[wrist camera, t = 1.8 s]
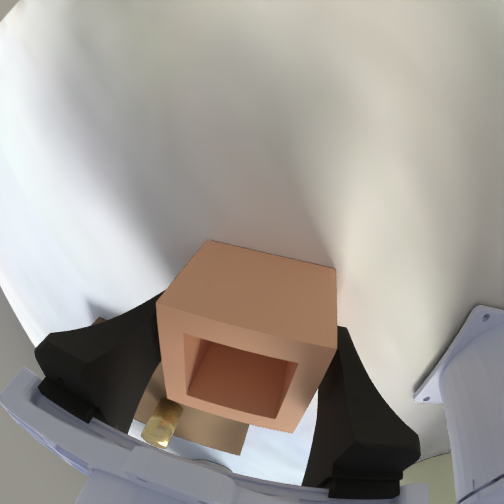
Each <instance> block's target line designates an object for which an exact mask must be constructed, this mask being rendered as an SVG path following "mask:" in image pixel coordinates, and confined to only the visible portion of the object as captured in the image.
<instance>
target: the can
mask: <svg viewBox="0 0 504 504" xmlns="http://www.w3.org/2000/svg"><path fill="white" fill-rule="evenodd" d="M415 483H428V486H429V504H456V494H455V481H454V471H453V463H452V455H451V453H447V454H443V455H439V456H435V457H432V458H429V459H426V460H423V461H420V462H418V463H415V464H413V465H411V466H410V467H408V468H407V469H405V470H404V471H403V479H402V480H400V486H401V485H405V484H415Z"/></svg>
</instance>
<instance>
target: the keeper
mask: <svg viewBox="0 0 504 504" xmlns="http://www.w3.org/2000/svg"><path fill="white" fill-rule="evenodd" d="M104 321H107V320H104V319H102V318H100V317H99V318H98V319H97V320H96V321H95V322H94V323H93V324H92V325H95V324H98V323H101V322H104ZM92 325H91V326H92ZM133 419H135V420H137V421H140V422H142V423H144V424H146V426H145V428H144V430H143V432H142V434H141V437H142V438H143V439H144V440H145V441H146V442H148V443H149V444H151V445H153V446H155V447H158V448H162V449H165V448H166V447H167V445H168V443H169V441H170V439H171V437H172V435H174V436H177V437H180V438H183V439H185V440H188V441H191V442H194V443H197V444H200V445H204V446H207V447H210V448H213V449H217V450H220V451H224V452H227V453H231V454H235V455H239V456H240V453H241V450H242V447H243V444H244V440H245V437H246V434H247V430H248V427H249V424H247V423H243V422H239V421H235V420H232V419H228V418H225V417H221V416H218V415H214V414H211V413H208V412H205V411H201V410H198V409H195V408H192V407H189V406H186V405H183V404H181V403H178V402H175V401H172V400H170V399H167V393H166V387H165V380H164V373H163V366H162V360H161V362H160V364H159V365H158V367H157V368H156V370H155V372H154V373H153V375H152V377H151V379H150V381H149V383H148V385H147V387H146V389H145V392H144V394H143V396H142V398H141V400H140V403H139V405H138V408H137V410H136V413H135V415H134V418H133Z"/></svg>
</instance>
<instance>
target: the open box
mask: <svg viewBox="0 0 504 504" xmlns="http://www.w3.org/2000/svg"><path fill="white" fill-rule="evenodd" d="M156 312H157V323H158V333H159V342H160V350H161V358H162V366H163V373H164V380H165V387H166V393H167V399H170V400H172V401H175V402H178V403H181V404H183V405H186V406H189V407H192V408H195V409H198V410H201V411H205V412H208V413H211V414H214V415H218V416H221V417H225V418H228V419H232V420H235V421H239V422H243V423H247V424H251V425H255V426H259V427H264V428H268V429H273V430H278V431H283V432H288V433H293V432H294V430H295V429H296V427H297V425H298V423H299V422H300V420H301V418H302V416H303V415H304V413H305V411H306V409H307V407H308V406H309V404H310V402H311V400H312V398H313V396H314V394H315V393H316V391H317V389H318V387H319V385H320V383H321V381H322V379H323V377H324V375H325V373H326V371H327V369H328V367H329V365H330V363H331V361H332V359H333V357H334V355H335V352H336V350H337V289H336V269H334V268H329V267H325V266H320V265H316V264H312V263H307V262H303V261H299V260H294V259H290V258H285V257H281V256H277V255H272V254H268V253H263V252H259V251H255V250H250V249H246V248H241V247H237V246H232V245H228V244H224V243H219V242H215V241H210V240H207V241H206V242H205V243H204V244H203V246H202V247H201V248H200V249H199V250H198V251H197V253H196V254H195V255H194V256H193V257H192V259H191V260H190V261H189V262H188V263H187V265H186V266H185V267H184V268H183V270H182V271H181V272H180V273H179V274H178V276H177V277H176V278H175V279H174V281H173V282H172V283H171V284H170V285H169V287H168V288H167V289H166V290H165V292H164V293H163V294H162V295H161V297H160V298H159V299H158V300H157V302H156Z"/></svg>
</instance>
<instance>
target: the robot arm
mask: <svg viewBox="0 0 504 504" xmlns="http://www.w3.org/2000/svg"><path fill="white" fill-rule="evenodd" d="M164 292H165V291H163V292H161V293H160V294H158V295H156V296H155V297H153V298H151V299H150V300H148V301H146V302H145V303H143V304H141V305H139V306H137V307H135V308H134V309H132V310H130V311H128V312H126V313H124V314H122V315H119V316H117V317H115V318H112V319H110V320H107V321H104V322H101V323H98V324H95V325H92V326H88V327H84V328H80V329H75V330H70V331H63V332H55V333H50V334H49V335H48V336H47V337H46V338H45V339H44V340H43V341H42V342H41V343H40V344H39V345H38V346H37V347H36V348H35V351H34V352H35V357H36V359H37V362H38V363H39V365H40V367H41V369H42V371H43V373H44V374H45V376H46V377H45V378H44V380H43V381H42V380H41V379H40V378H39V377H38V376H37V375H36V374H34V373H33V372H31V371H30V370H29V369H27V368H26V367H24V366H23V367H22V369H21V370H20V371H19V372H18V373H17V374H16V375H15V377H14V378H13V379H12V380H11V381H10V382H9V383H8V385H7V386H6V387H5V388H4V389H3V391H2V392H1V393H0V404H1V405H2V406H3V407H4V408H5V410H6V411H7V412H8V413H9V414H10V415H11V417H12V418H13V419H14V420H15V421H16V422H17V423H18V425H20V426H21V427H22V428H23V429H25V431H27V432H28V433H29V434H30V435H32V436H33V437H34V438H35V439H36V440H38V441H39V442H40V443H42V444H43V445H44V446H46V447H47V448H48V449H49V450H51V451H52V452H53V453H55V454H56V455H57V456H59V457H60V458H61V459H63V460H64V461H66V462H67V463H69V464H70V465H71V466H73V467H74V468H76V469H77V470H79V471H80V472H82V473H83V474H85V475H87V476H88V477H89V478H88V480H87V481H86V483H85V485H84V487H83V488H82V490H81V492H80V494H79V495H78V497H77V499H76V501H75V502H74V504H429V486H428V483H415V484H405V485H401V486H400V480H402V479H403V471H404V470H405V469H407V468H408V467H410V466H411V465H412V464H414V463H415V462H416V461H417V460H418V459H419V458H420V456H421V452H420V442H419V437H418V435H417V434H416V433H415V432H414V431H413V430H412V429H411V428H410V427H408V426H407V425H406V424H405V423H404V422H403V421H402V420H401V419H400V418H399V417H398V416H397V415H396V414H395V412H394V411H393V410H392V409H391V408H390V407H389V405H388V404H387V403H386V402H385V400H384V399H383V398H382V396H381V395H380V394H379V392H378V391H377V389H376V387H375V386H374V384H373V383H372V381H371V379H370V378H369V376H368V374H367V372H366V370H365V368H364V366H363V364H362V362H361V360H360V358H359V356H358V353H357V351H356V349H355V347H354V344H353V342H352V339H351V337H350V334H349V332H348V329H347V328H346V327H341V326H337V350H336V352H335V355H334V357H333V359H332V361H331V363H330V365H329V367H328V369H327V371H326V373H325V375H324V377H323V379H322V381H321V383H320V385H319V387H318V408H317V420H316V426H315V431H314V437H313V442H312V447H311V451H310V456H309V460H308V464H307V468H306V471H305V475H304V479H303V482H302V485H301V486H297V485H291V484H284V483H278V482H273V481H267V480H262V479H258V478H253V477H249V476H244V475H240V474H236V473H232V472H228V471H225V470H221V469H217V468H214V467H211V466H207V465H204V464H201V463H198V462H195V461H192V460H189V459H186V458H183V457H180V456H177V455H175V454H172V453H169V452H167V451H164V450H162V449H159V448H157V447H154V446H152V445H149V444H147V443H145V442H142V441H140V440H138V439H136V438H133V437H131V436H129V435H127V434H128V431H129V428H130V426H131V423H132V420H133V418H134V415H135V413H136V410H137V408H138V405H139V403H140V400H141V398H142V396H143V394H144V392H145V389H146V387H147V385H148V383H149V381H150V379H151V377H152V375H153V373H154V372H155V370H156V368H157V367H158V365H159V364H160V362H161V360H162V358H161V350H160V342H159V333H158V323H157V312H156V302H157V300H158V299H159V298H160V297H161V295H162V294H163V293H164ZM484 315H485V316H484ZM483 316H484V317H483ZM413 399H414V401H415V402H417V403H435V404H443V409H444V414H445V419H446V424H447V429H448V435H449V441H450V448H451V455H452V463H453V471H454V481H455V494H456V504H504V310H502V309H497V308H493V307H488V306H484V305H478V306H476V307H475V308H474V309H473V310H472V311H471V313H470V315H469V316H468V318H467V320H466V321H465V323H464V325H463V326H462V328H461V330H460V331H459V333H458V334H457V336H456V337H455V339H454V340H453V342H452V344H451V345H450V347H449V348H448V349H447V351H446V352H445V354H444V355H443V357H442V358H441V360H440V361H439V362H438V364H437V365H436V367H435V368H434V369H433V371H432V372H431V373H430V375H429V376H428V377H427V378H426V380H425V381H424V382H423V384H422V385H421V386H420V387H419V389H418V390H417V391H416V392H415V394H414V395H413Z"/></svg>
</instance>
